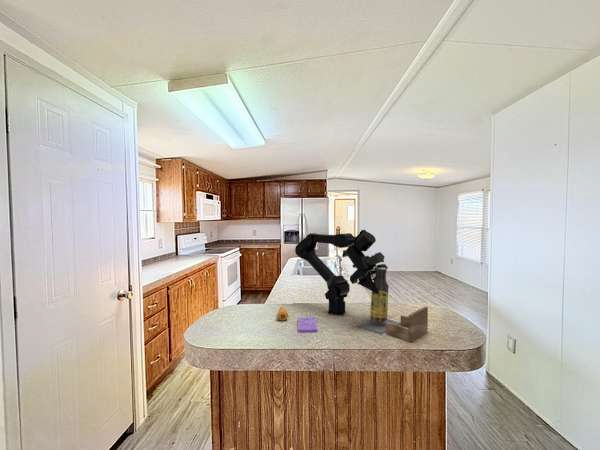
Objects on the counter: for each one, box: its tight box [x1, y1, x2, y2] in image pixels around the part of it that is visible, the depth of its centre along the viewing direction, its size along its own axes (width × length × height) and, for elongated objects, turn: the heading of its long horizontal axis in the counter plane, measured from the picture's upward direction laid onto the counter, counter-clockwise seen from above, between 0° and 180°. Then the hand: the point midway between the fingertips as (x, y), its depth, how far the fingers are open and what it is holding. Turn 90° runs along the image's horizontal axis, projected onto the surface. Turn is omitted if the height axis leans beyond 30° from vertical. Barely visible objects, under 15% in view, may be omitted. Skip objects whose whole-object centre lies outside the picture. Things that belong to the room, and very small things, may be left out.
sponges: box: [297, 316, 319, 334], centre depth 115 cm, size 7×13×2 cm, turn 1°
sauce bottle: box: [369, 267, 390, 322], centre depth 114 cm, size 7×6×20 cm
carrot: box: [277, 305, 289, 321], centre depth 129 cm, size 20×4×4 cm, turn 5°
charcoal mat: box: [357, 318, 401, 335], centre depth 115 cm, size 10×14×1 cm
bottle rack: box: [385, 306, 429, 343], centre depth 107 cm, size 10×12×9 cm
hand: (382, 291), depth 113 cm, fingers closed on sauce bottle, 6 cm apart
